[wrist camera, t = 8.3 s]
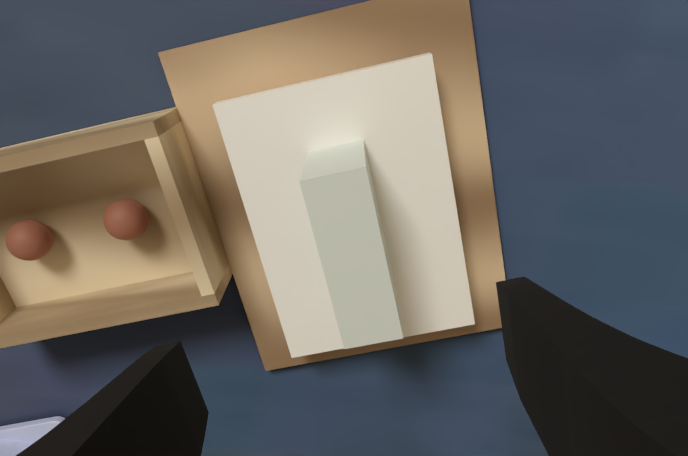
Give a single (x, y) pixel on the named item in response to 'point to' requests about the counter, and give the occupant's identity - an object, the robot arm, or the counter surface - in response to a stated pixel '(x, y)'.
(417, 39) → the mat
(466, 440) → the counter surface
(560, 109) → the counter surface
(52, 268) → the box
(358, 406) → the counter surface
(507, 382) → the counter surface
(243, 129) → the lid
